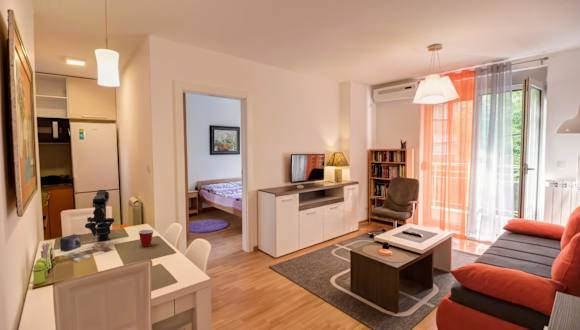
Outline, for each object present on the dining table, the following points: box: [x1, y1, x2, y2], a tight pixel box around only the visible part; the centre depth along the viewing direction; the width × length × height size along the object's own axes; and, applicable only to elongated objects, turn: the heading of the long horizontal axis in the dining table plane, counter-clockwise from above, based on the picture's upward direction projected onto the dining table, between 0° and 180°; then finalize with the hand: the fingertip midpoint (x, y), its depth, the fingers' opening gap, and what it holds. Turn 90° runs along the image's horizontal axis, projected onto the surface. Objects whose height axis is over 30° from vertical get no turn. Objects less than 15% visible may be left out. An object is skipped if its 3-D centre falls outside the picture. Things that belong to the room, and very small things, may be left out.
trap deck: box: [63, 245, 115, 264], centre depth 196 cm, size 23×20×3 cm
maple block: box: [93, 241, 109, 252], centre depth 203 cm, size 6×6×4 cm
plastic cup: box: [138, 229, 155, 248], centre depth 213 cm, size 11×11×12 cm
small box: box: [59, 233, 81, 252], centre depth 203 cm, size 11×6×10 cm, turn 168°
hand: (100, 234), depth 207 cm, fingers open, 9 cm apart
